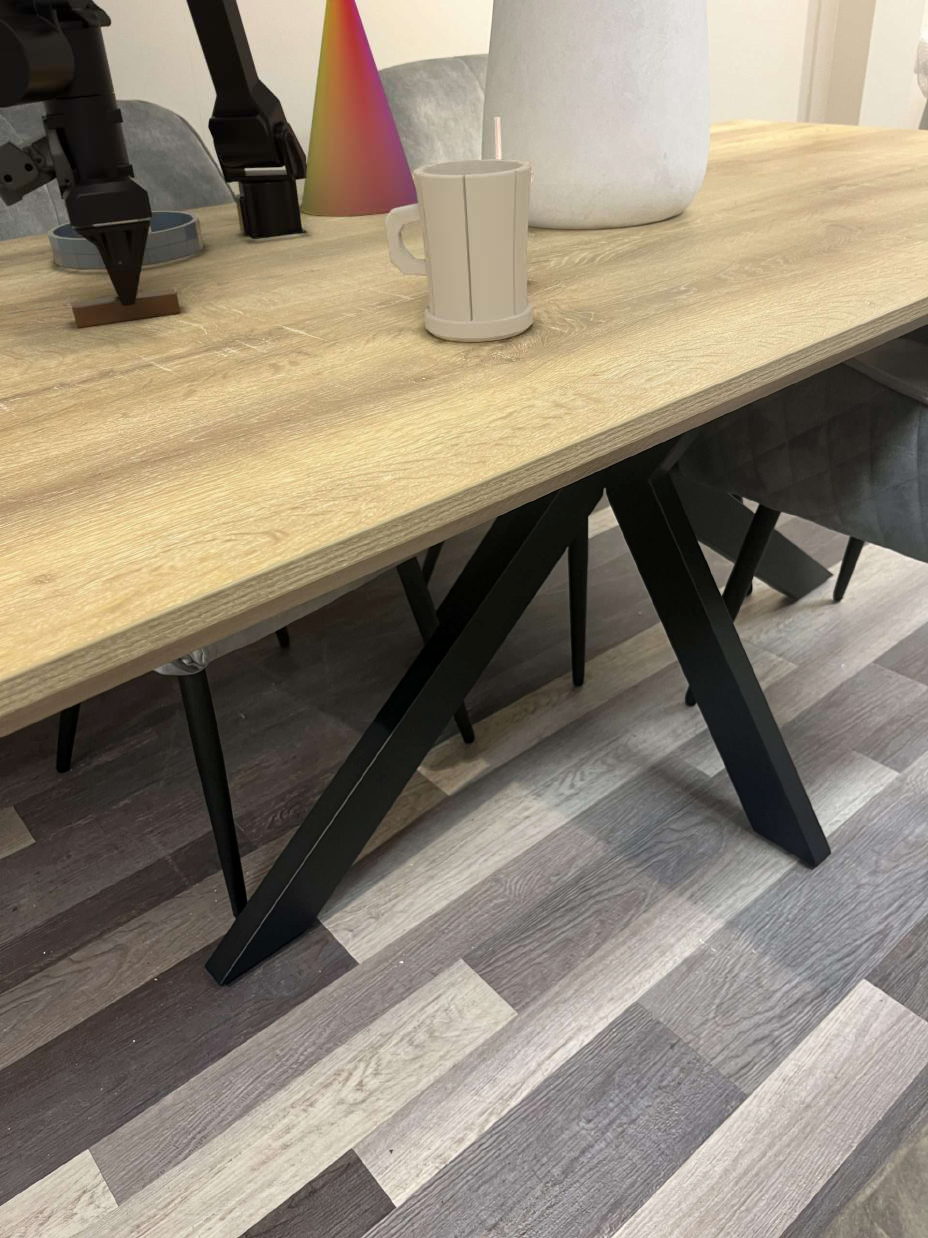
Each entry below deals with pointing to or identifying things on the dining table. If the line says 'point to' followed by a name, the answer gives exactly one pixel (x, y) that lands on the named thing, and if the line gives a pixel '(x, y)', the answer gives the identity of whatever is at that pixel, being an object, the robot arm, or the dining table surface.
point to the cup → (469, 247)
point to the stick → (125, 308)
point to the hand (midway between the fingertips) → (123, 293)
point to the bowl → (165, 242)
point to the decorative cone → (352, 128)
